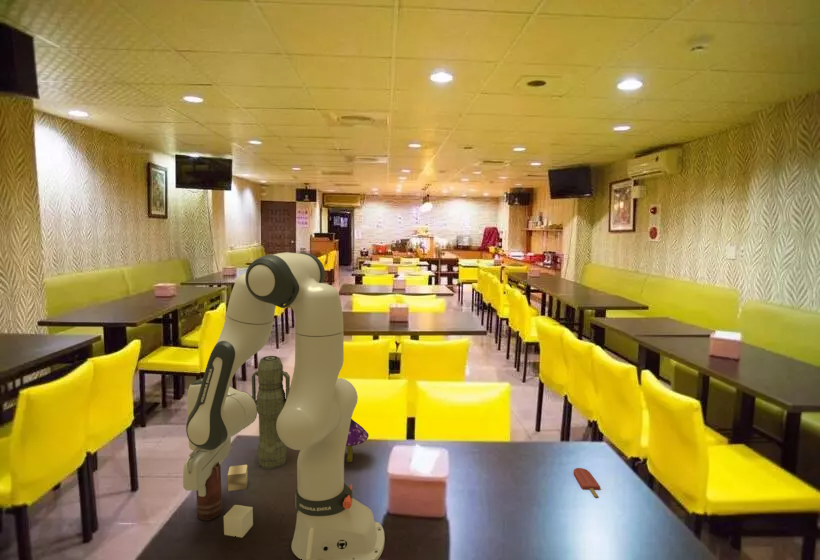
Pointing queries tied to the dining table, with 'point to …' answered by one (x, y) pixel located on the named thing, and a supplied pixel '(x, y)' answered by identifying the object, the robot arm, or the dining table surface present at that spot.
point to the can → (211, 496)
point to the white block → (238, 520)
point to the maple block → (237, 477)
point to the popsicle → (586, 480)
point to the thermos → (270, 410)
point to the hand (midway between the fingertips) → (209, 487)
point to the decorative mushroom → (355, 437)
